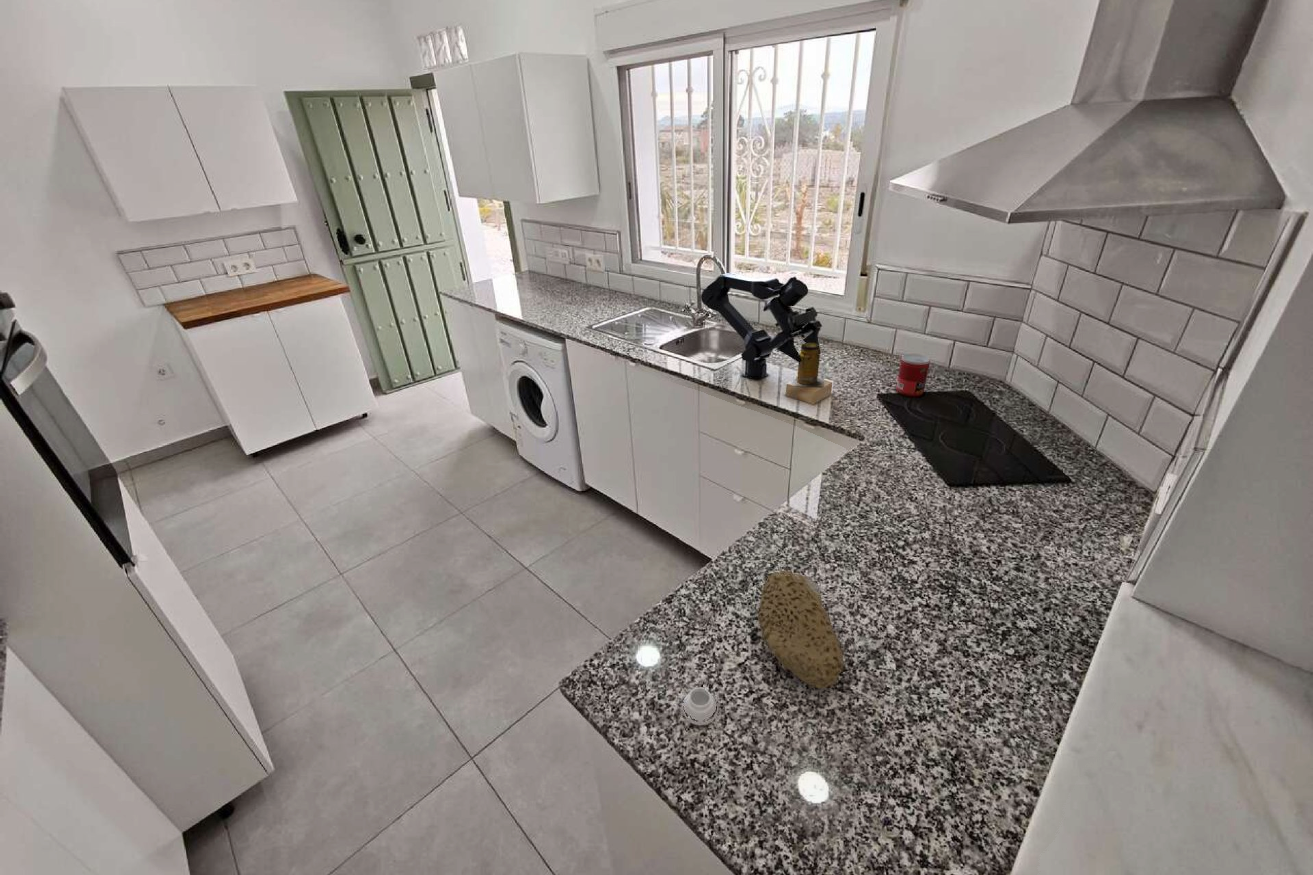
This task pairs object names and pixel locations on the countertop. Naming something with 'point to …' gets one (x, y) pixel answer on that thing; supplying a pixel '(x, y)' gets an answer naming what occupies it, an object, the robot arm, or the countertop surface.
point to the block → (808, 391)
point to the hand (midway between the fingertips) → (810, 358)
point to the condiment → (809, 366)
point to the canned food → (913, 374)
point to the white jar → (699, 706)
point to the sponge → (799, 629)
